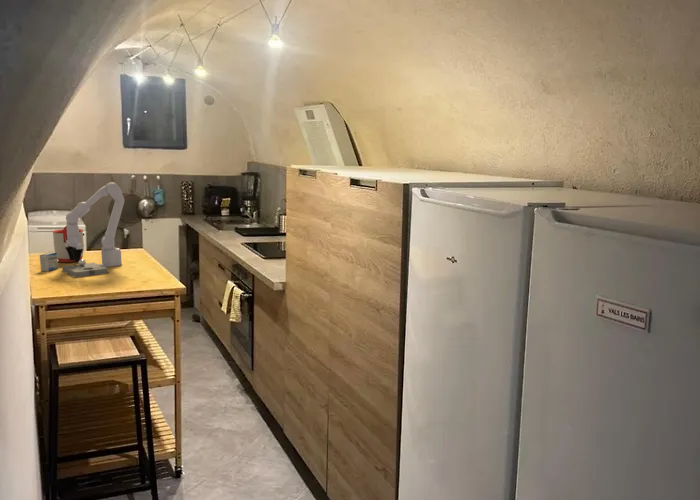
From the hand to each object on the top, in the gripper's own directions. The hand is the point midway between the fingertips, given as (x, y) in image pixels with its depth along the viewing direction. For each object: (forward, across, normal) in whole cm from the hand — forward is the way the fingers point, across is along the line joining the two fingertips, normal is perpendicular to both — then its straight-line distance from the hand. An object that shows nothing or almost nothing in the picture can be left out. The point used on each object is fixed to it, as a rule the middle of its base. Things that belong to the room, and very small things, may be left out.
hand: (74, 261), depth 342 cm
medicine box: (+4, -3, -12) cm, 13 cm away
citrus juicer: (+4, -21, +4) cm, 22 cm away
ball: (-1, +11, 0) cm, 11 cm away
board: (+3, +15, 0) cm, 15 cm away
